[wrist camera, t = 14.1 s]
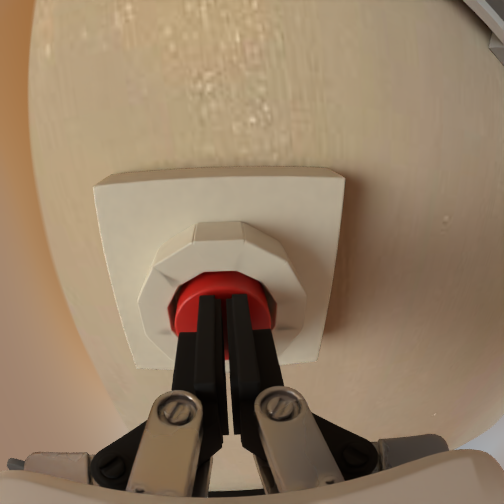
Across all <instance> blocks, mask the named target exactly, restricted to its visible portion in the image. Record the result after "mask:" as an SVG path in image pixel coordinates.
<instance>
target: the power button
mask: <svg viewBox="0 0 504 504" xmlns="http://www.w3.org/2000/svg"><path fill="white" fill-rule="evenodd" d="M232 294H247V297H248V304H249V311H250V317H251V324H252V330H256V329H271V316H270V312H269V308H268V303H267V299H266V295H265V291H264V288H263V286H262V284H261V283H260V281H258V280H256V279H254V278H252V277H249V276H247V275H245V274H243V273H241V272H238V271H216V272H203V273H201V274H199V275H198V276H196V277H194V278H192V279H191V280H189V281H187V282H185V283H183V285H182V287H181V289H180V293H179V298H178V304H177V309H176V315H175V329H176V333H177V335H178V336H179V333H180V332H197V320H198V307H199V296H200V295H215V299H221V307H222V324H223V339H224V354H225V360H229V352H228V333H227V313H226V299H231V298H232Z"/></svg>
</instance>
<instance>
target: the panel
mask: <svg viewBox="0 0 504 504" xmlns="http://www.w3.org/2000/svg"><path fill="white" fill-rule="evenodd" d="M258 495H266V494H265V491H264V489H259V490H246V491H226V492H208V498H221V497H245V496H258Z"/></svg>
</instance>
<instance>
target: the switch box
mask: <svg viewBox="0 0 504 504" xmlns="http://www.w3.org/2000/svg"><path fill="white" fill-rule="evenodd" d="M344 190H345V178H344V177H342V176H341V175H339V174H337V173H335V172H334V171H332V170H330V169H328V168H320V167H280V166H247V167H207V168H185V169H169V170H155V171H142V172H131V173H121V174H111V175H110V176H108V177H106V178H105V179H103V180H102V181H100V182H99V183H97V184H96V185H94V186H93V192H94V199H95V206H96V212H97V218H98V224H99V229H100V235H101V240H102V245H103V250H104V255H105V259H106V264H107V268H108V273H109V277H110V281H111V285H112V289H113V293H114V297H115V300H116V304H117V308H118V311H119V315H120V318H121V322H122V325H123V328H124V332H125V335H126V338H127V341H128V344H129V347H130V350H131V353H132V356H133V359H134V362H135V365H136V368H137V369H165V370H174V366H175V358H176V350H177V343H178V335H177V333H176V329H175V315H176V309H177V304H178V298H179V293H180V289H181V287H182V285H183V283H185V282H187V281H189V280H191V279H192V278H194V277H196V276H198V275H199V274H201V273H203V272H216V271H238V272H241V273H243V274H245V275H247V276H249V277H252V278H254V279H256V280H258V281H260V283H261V284H262V286H263V288H264V291H265V295H266V299H267V303H268V308H269V312H270V316H271V331H272V335H273V340H274V344H275V348H276V353H277V357H278V361H279V365H287V364H297V363H306V362H314V361H317V360H318V355H319V351H320V346H321V341H322V336H323V331H324V326H325V321H326V316H327V310H328V305H329V299H330V293H331V287H332V281H333V275H334V269H335V262H336V255H337V248H338V241H339V234H340V226H341V218H342V209H343V200H344ZM225 373H230V369H229V360H225Z"/></svg>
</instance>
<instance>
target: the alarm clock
mask: <svg viewBox="0 0 504 504" xmlns="http://www.w3.org/2000/svg"><path fill="white" fill-rule="evenodd" d="M463 1H464V2H465V3H466V4H467V5H468V6H469V7H470V8H471V9H472V10H473V11H474V12H475V13H476V14H477V15H478V16H479V17H480V18H481V19H482V20H483V21H484V22H485V23H486V24H487V26H488V27H489V28H490V29H491V30H492V34H491V39H490V44H489V49H490V50H491V51H492V52H493V53H494V54H495V56H496V57H497V58H498V59H499V60H500V62H501V63H502V64H503V65H504V0H463Z"/></svg>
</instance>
